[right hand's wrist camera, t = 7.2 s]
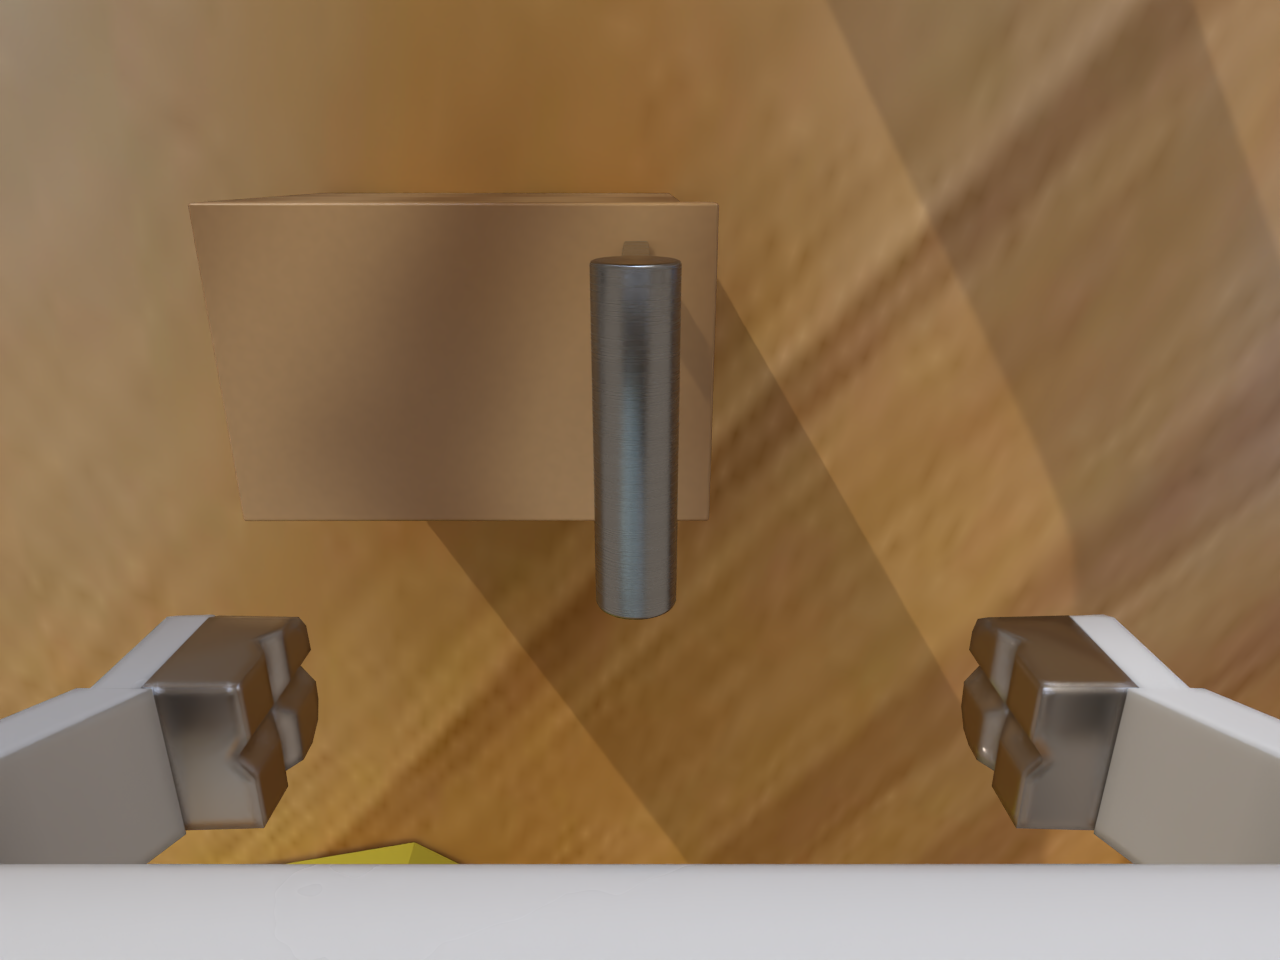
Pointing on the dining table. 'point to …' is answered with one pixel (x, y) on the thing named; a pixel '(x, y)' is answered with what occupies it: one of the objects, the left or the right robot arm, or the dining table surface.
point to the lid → (472, 367)
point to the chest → (467, 197)
